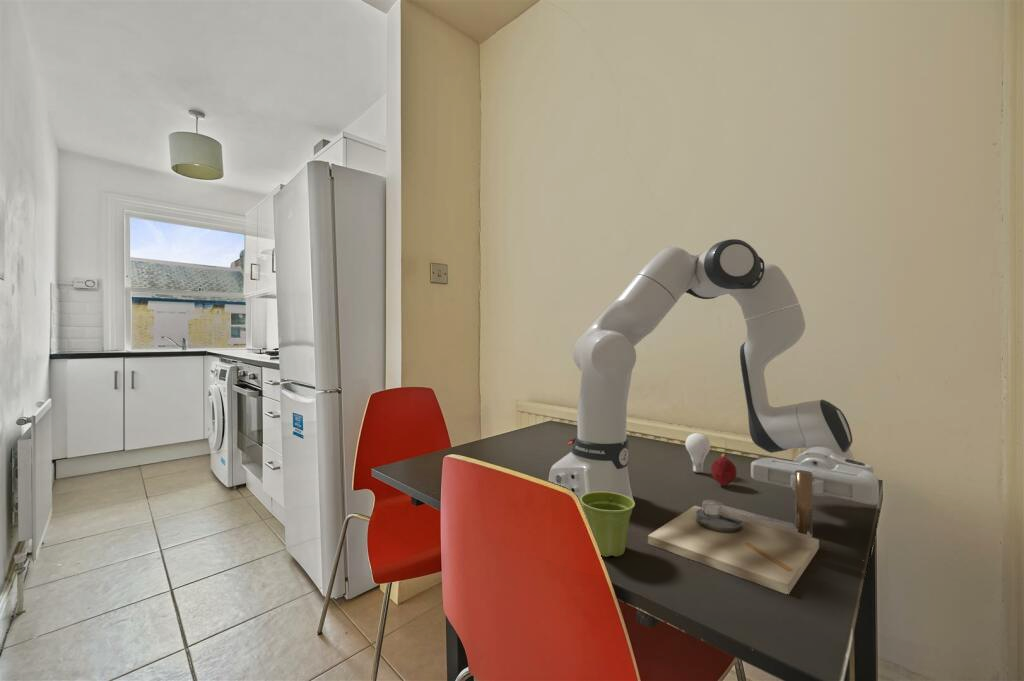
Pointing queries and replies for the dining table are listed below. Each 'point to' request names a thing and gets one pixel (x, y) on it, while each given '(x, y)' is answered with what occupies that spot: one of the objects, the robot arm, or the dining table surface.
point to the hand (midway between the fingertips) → (801, 488)
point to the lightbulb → (697, 450)
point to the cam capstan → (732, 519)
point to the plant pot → (608, 520)
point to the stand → (739, 550)
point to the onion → (723, 470)
